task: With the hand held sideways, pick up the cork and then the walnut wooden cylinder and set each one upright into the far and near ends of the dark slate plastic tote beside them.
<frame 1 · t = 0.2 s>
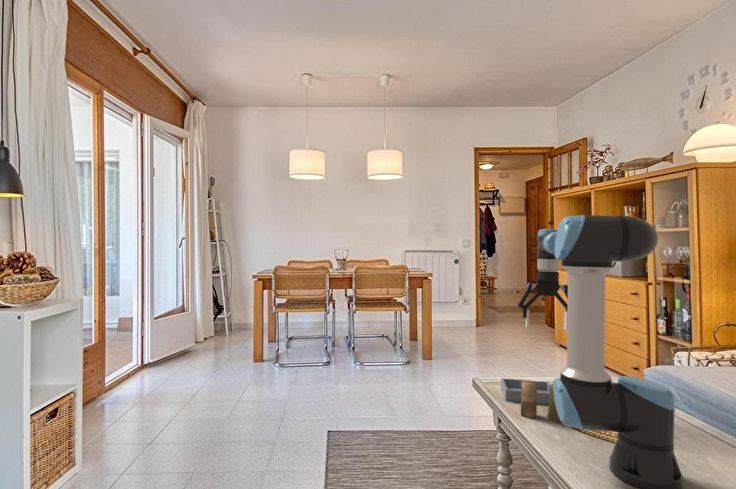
hand: (546, 328, 155), 27 cm above the table, tool pointing down, fingers open, 13 cm apart
tote: (527, 396, 161), on the table
walnut cylinder: (528, 415, 142), on the table
cork: (557, 418, 140), on the table
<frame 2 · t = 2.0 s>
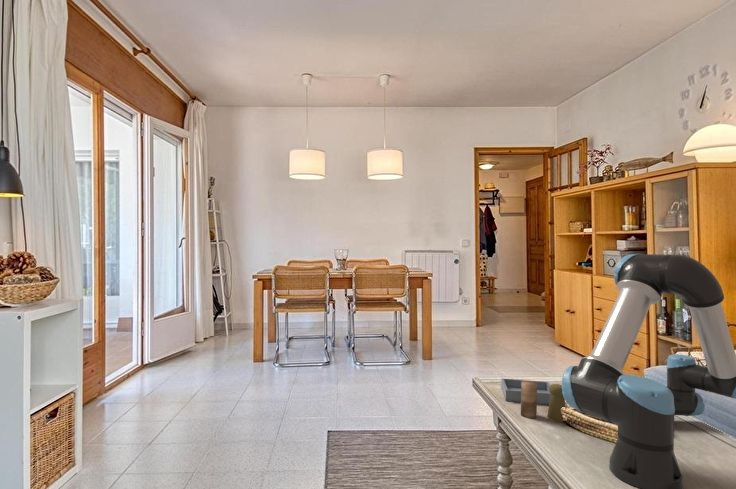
hand: (585, 400, 140), 6 cm above the table, tool horizontal, fingers open, 13 cm apart
nothing on the table moved.
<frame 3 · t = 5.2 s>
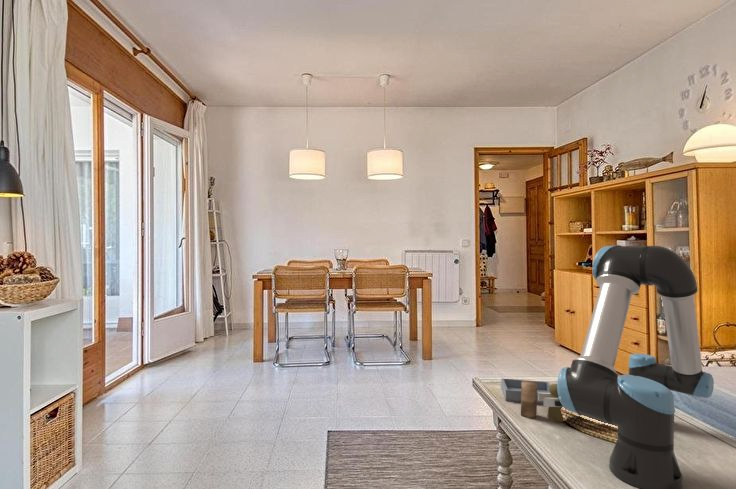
hand: (541, 399, 140), 6 cm above the table, tool horizontal, fingers closed on cork, 4 cm apart
cork: (557, 418, 140), on the table, touching gripper
everything else where it was.
when the fingers open (9 cm above the table, at t = 10.1 s): cork moves 4 cm, resting on tote.
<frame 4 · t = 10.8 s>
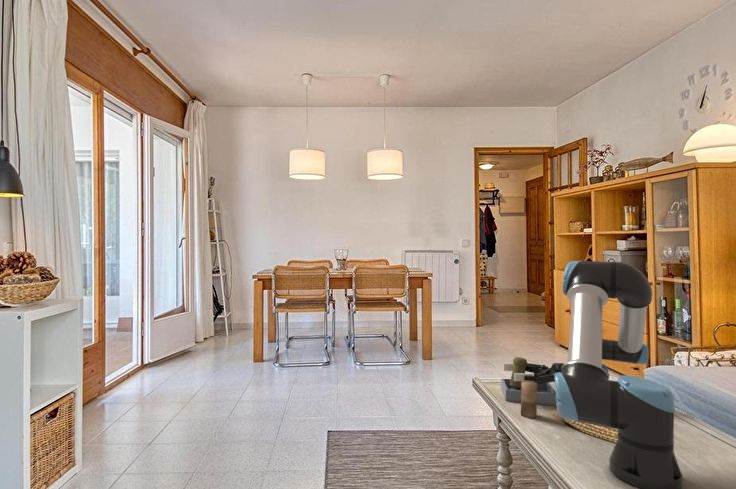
hand: (508, 371, 162), 9 cm above the table, tool horizontal, fingers open, 13 cm apart
cork: (517, 386, 165), point 2 cm above the table, touching gripper, tote
everything else where it was.
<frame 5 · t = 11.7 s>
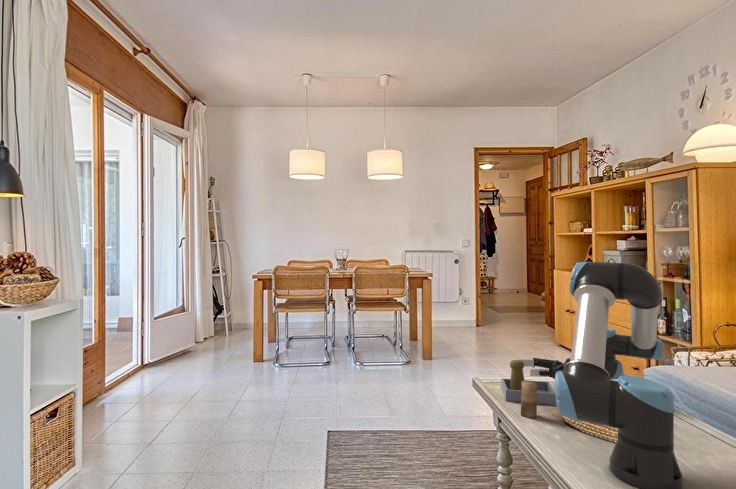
hand: (523, 367, 162), 11 cm above the table, tool horizontal, fingers open, 13 cm apart
cork: (517, 389, 165), point 1 cm above the table, touching gripper
everything else where it was.
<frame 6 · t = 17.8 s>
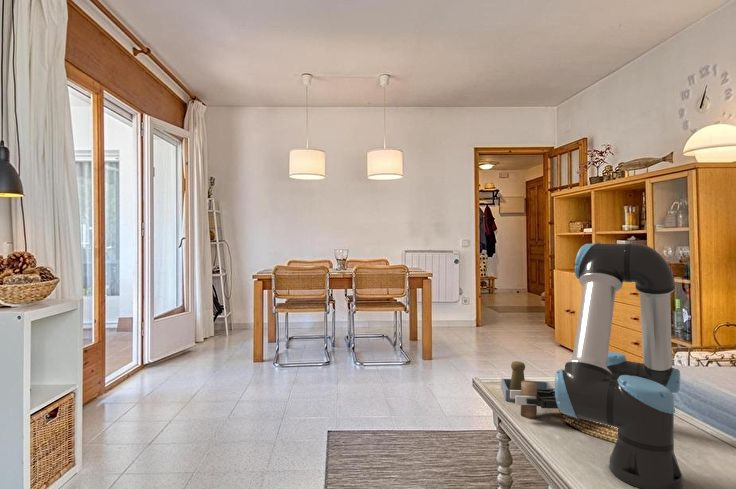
hand: (513, 397, 142), 6 cm above the table, tool horizontal, fingers closed on walnut cylinder, 5 cm apart
walnut cylinder: (528, 415, 142), on the table, touching gripper
cork: (517, 390, 165), point 1 cm above the table, touching tote
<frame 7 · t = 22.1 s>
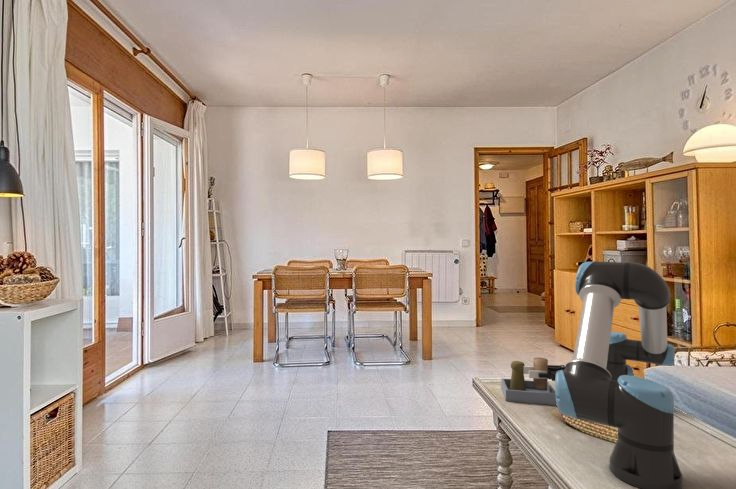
hand: (526, 372, 160), 10 cm above the table, tool horizontal, fingers closed on walnut cylinder, 5 cm apart
walnut cylinder: (540, 388, 160), point 4 cm above the table, touching gripper
cork: (517, 390, 165), point 1 cm above the table, touching gripper, tote
when the fingers open (9 cm above the table, at t = 22.5 s): walnut cylinder drops 2 cm, resting on tote.
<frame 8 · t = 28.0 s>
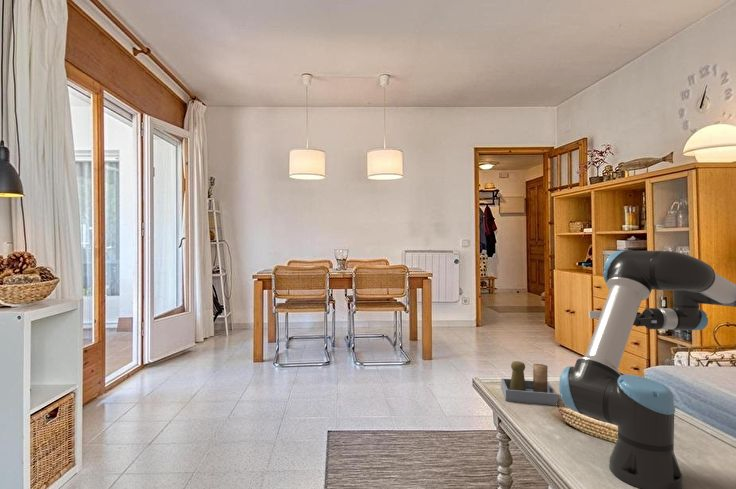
hand: (598, 317, 152), 32 cm above the table, tool horizontal, fingers open, 13 cm apart
walnut cylinder: (540, 394, 160), point 1 cm above the table, touching tote
cork: (517, 390, 165), point 1 cm above the table, touching tote
at the end: cork inside the target area on the tote (4.6 cm from its centre), point 0.8 cm above the tote's base; walnut cylinder inside the target area on the tote (4.6 cm from its centre), point 1.0 cm above the tote's base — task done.
